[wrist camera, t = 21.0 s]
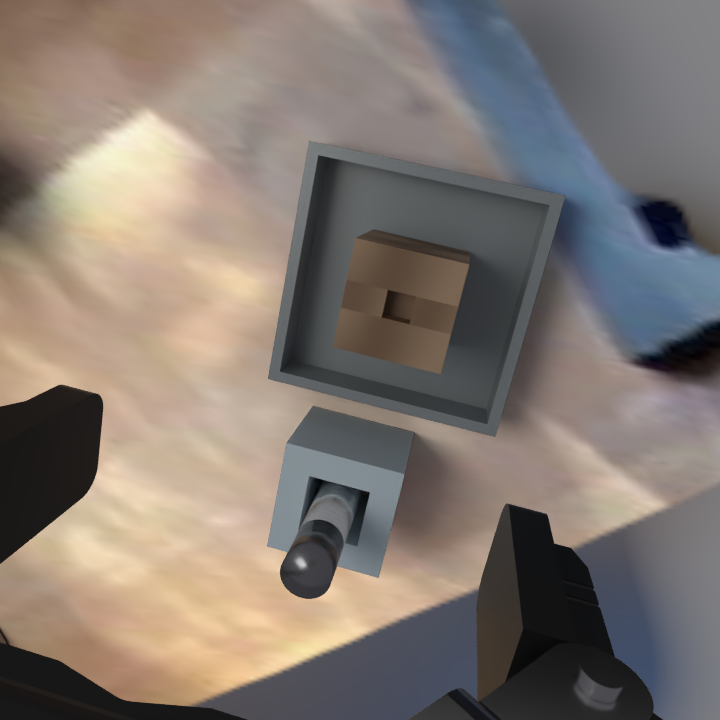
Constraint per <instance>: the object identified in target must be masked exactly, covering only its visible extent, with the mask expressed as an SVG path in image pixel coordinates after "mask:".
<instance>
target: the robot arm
mask: <svg viewBox="0 0 720 720" xmlns="http://www.w3.org/2000/svg"><path fill="white" fill-rule="evenodd" d="M102 415H103V401H102V398H101V396H100V395H98V394H96V393H92V392H88V391H84V390H81V389H77V388H73V387H69V386H66V385H58V386H56V387H54V388H52V389H50V390H48V391H46V392H44V393H41V394H39V395H37V396H35V397H33V398H31V399H29V400H27V401H24V402H20V403H15V404H10V405H6V406H1V407H0V564H1V563H2V562H3V561H4V560H6V559H7V558H8V557H9V556H11V555H12V554H13V553H14V552H16V551H17V550H18V549H19V548H21V547H22V546H23V545H24V544H26V543H27V542H28V541H29V540H30V539H32V538H33V537H34V536H35V535H37V534H38V533H39V532H40V531H42V530H43V529H44V528H45V527H47V526H48V525H49V524H50V523H52V522H53V521H54V520H55V519H57V518H58V517H59V516H60V515H62V514H63V513H64V512H65V511H66V510H68V509H69V508H70V507H71V506H73V505H74V504H75V503H76V502H78V501H79V500H80V499H81V498H83V497H84V496H85V494H86V493H87V492H88V490H89V489H90V487H91V485H92V483H93V481H94V479H95V476H96V472H97V467H98V458H99V447H100V437H101V426H102ZM593 588H594V587H593V583H592V580H591V577H590V573H589V570H588V568H587V566H586V565H585V564H584V563H583V562H582V560H581V559H580V558H579V557H578V556H577V555H576V553H575V552H574V551H573V550H572V549H571V548H569V547H565V546H561V545H557V544H554V541H553V537H552V532H551V528H550V524H549V519H548V516H547V514H545V513H541V512H537V511H533V510H530V509H526V508H522V507H518V506H515V505H511V504H506V505H505V506H504V508H503V511H502V513H501V516H500V519H499V523H498V526H497V529H496V532H495V536H494V539H493V542H492V546H491V549H490V552H489V555H488V559H487V562H486V565H485V568H484V572H483V575H482V579H481V583H480V587H479V593H478V600H477V685H478V686H477V693H478V701H477V700H476V699H474V698H473V697H472V696H471V695H470V694H469V693H468V692H466V691H465V690H464V689H462V688H458V689H454V690H452V691H450V692H448V693H447V694H445V695H444V696H442V697H441V698H439V699H438V700H436V701H435V702H434V703H432V704H430V705H429V706H427V707H426V708H424V709H423V710H422V711H420V712H419V713H418V714H416V715H414V716H413V717H411V718H410V719H408V720H662V719H661V718H660V717H658V716H657V715H655V714H654V713H653V710H654V704H653V699H652V696H651V694H650V692H649V690H648V688H647V686H646V685H645V683H644V682H643V681H642V679H640V677H639V676H638V675H637V674H636V673H635V672H634V671H633V670H632V669H631V668H629V667H628V666H627V665H626V664H625V663H623V662H622V661H621V660H619V659H617V658H616V657H615V656H614V653H613V649H612V646H611V642H610V639H609V636H608V633H607V629H606V626H605V623H604V619H603V616H602V613H601V610H600V608H599V607H598V604H599V603H598V600H597V597H596V593H595V591H593ZM0 720H246V719H243V718H240V717H237V716H233V715H230V714H227V713H224V712H221V711H218V710H214V709H212V708H201V707H189V706H177V705H165V704H153V703H141V702H131V701H125V700H122V699H120V698H118V697H116V696H114V695H113V694H111V693H110V692H108V691H106V690H105V689H103V688H102V687H100V686H98V685H97V684H95V683H94V682H92V681H90V680H89V679H87V678H86V677H84V676H83V675H81V674H79V673H78V672H76V671H75V670H73V669H71V668H70V667H68V666H67V665H65V664H64V663H62V662H60V661H58V660H55V659H52V658H49V657H45V656H42V655H39V654H36V653H33V652H29V651H26V650H23V649H20V648H17V647H13V646H10V645H7V644H6V642H5V640H4V638H3V637H2V635H1V633H0Z"/></svg>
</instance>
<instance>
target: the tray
mask: <svg viewBox="0 0 720 720" xmlns="http://www.w3.org/2000/svg"><path fill="white" fill-rule="evenodd" d="M564 199H565V195H560V194H556V193H551V192H546V191H542V190H537V189H532V188H528V187H523V186H518V185H514V184H509V183H504V182H500V181H495V180H490V179H486V178H481V177H476V176H472V175H467V174H462V173H458V172H453V171H448V170H444V169H439V168H434V167H430V166H425V165H420V164H416V163H411V162H406V161H402V160H397V159H392V158H388V157H383V156H378V155H374V154H369V153H364V152H360V151H355V150H350V149H346V148H341V147H336V146H332V145H327V144H322V143H318V142H313V141H309V145H308V150H307V156H306V162H305V168H304V174H303V179H302V185H301V191H300V197H299V202H298V208H297V214H296V220H295V226H294V231H293V237H292V243H291V249H290V255H289V260H288V266H287V272H286V278H285V284H284V289H283V295H282V301H281V307H280V312H279V318H278V324H277V330H276V336H275V341H274V347H273V353H272V359H271V365H270V370H269V376H268V379H270V380H274V381H278V382H282V383H286V384H290V385H294V386H298V387H302V388H306V389H310V390H314V391H317V392H321V393H325V394H329V395H333V396H337V397H341V398H345V399H349V400H353V401H357V402H361V403H365V404H368V405H372V406H376V407H380V408H384V409H388V410H392V411H396V412H400V413H404V414H408V415H412V416H415V417H419V418H423V419H427V420H431V421H435V422H439V423H443V424H447V425H451V426H455V427H459V428H463V429H466V430H470V431H474V432H478V433H482V434H486V435H490V436H494V437H495V436H496V433H497V429H498V426H499V422H500V419H501V415H502V412H503V409H504V405H505V402H506V398H507V395H508V391H509V388H510V385H511V381H512V378H513V374H514V371H515V367H516V364H517V361H518V357H519V354H520V350H521V347H522V343H523V340H524V337H525V333H526V330H527V326H528V323H529V319H530V316H531V313H532V309H533V306H534V302H535V299H536V295H537V292H538V289H539V285H540V282H541V278H542V275H543V271H544V268H545V265H546V261H547V258H548V254H549V251H550V247H551V244H552V241H553V237H554V234H555V230H556V227H557V223H558V220H559V216H560V213H561V210H562V206H563V203H564ZM373 229H374V230H378V231H383V232H387V233H391V234H396V235H400V236H404V237H409V238H413V239H417V240H422V241H426V242H430V243H435V244H439V245H443V246H447V247H452V248H456V249H460V250H465V251H469V252H470V259H469V268H468V272H467V275H466V279H465V283H464V287H463V291H462V294H461V298H460V302H459V306H458V310H457V314H456V317H455V321H454V325H453V329H452V333H451V336H450V340H449V344H448V348H447V352H446V356H445V359H444V363H443V367H442V371H441V374H438V373H434V372H430V371H426V370H422V369H418V368H414V367H410V366H406V365H402V364H398V363H394V362H390V361H386V360H382V359H378V358H374V357H370V356H366V355H362V354H358V353H354V352H350V351H347V350H343V349H339V348H335V347H333V343H334V339H335V334H336V329H337V324H338V319H339V314H340V310H341V305H342V300H343V295H344V290H345V285H346V281H347V276H348V271H349V266H350V261H351V256H352V252H353V247H354V242H355V238H356V237H358V236H360V235H363V234H365V233H367V232H369V231H371V230H373Z"/></svg>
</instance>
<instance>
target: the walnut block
mask: <svg viewBox="0 0 720 720" xmlns="http://www.w3.org/2000/svg"><path fill="white" fill-rule="evenodd" d="M469 259H470V252H469V251H465V250H460V249H456V248H452V247H447V246H443V245H439V244H435V243H430V242H426V241H422V240H417V239H413V238H409V237H404V236H400V235H396V234H391V233H387V232H383V231H378V230H374V229H373V230H371V231H369V232H367V233H365V234H363V235H360V236H358V237H356V238H355V242H354V247H353V252H352V256H351V261H350V266H349V271H348V276H347V281H346V285H345V290H344V295H343V300H342V305H341V310H340V314H339V319H338V324H337V329H336V334H335V339H334V343H333V347H335V348H339V349H343V350H347V351H350V352H354V353H358V354H362V355H366V356H370V357H374V358H378V359H382V360H386V361H390V362H394V363H398V364H402V365H406V366H410V367H414V368H418V369H422V370H426V371H430V372H434V373H438V374H441V371H442V367H443V363H444V359H445V356H446V352H447V348H448V344H449V340H450V336H451V333H452V329H453V325H454V321H455V317H456V314H457V310H458V306H459V302H460V298H461V294H462V291H463V287H464V283H465V279H466V275H467V272H468V268H469Z"/></svg>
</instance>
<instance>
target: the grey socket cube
mask: <svg viewBox="0 0 720 720" xmlns="http://www.w3.org/2000/svg"><path fill="white" fill-rule="evenodd" d="M413 436H414V432H411V431H407V430H404V429H400V428H396V427H392V426H388V425H384V424H380V423H376V422H373V421H369V420H365V419H361V418H357V417H353V416H349V415H345V414H341V413H338V412H334V411H330V410H326V409H322V408H318V407H314V406H313V407H312V408H311V409H310V411H309V412H308V414H307V415H306V416H305V418H304V419H303V421H302V422H301V423H300V425H299V426H298V428H297V429H296V430H295V432H294V433H293V435H292V436H291V437H290V439H289V440H288V442H287V443H286V448H285V454H284V459H283V464H282V470H281V475H280V480H279V486H278V491H277V496H276V502H275V507H274V512H273V518H272V523H271V528H270V534H269V539H268V544H267V546H268V547H271V548H275V549H278V550H282V551H285V552H288V551H289V549H290V547H291V545H292V543H293V541H294V539H295V537H296V535H297V533H298V531H299V529H300V527H301V525H302V523H303V521H304V519H305V517H306V515H307V513H308V511H309V509H310V507H311V505H312V503H313V501H314V499H315V497H316V495H317V493H318V491H319V489H320V487H321V485H322V480H326V481H330V482H333V483H337V484H341V485H345V486H348V487H352V488H356V489H359V490H363V491H367V492H370V495H367V494H362V497H361V500H360V502H359V505H358V508H357V511H356V514H355V517H354V519H353V522H352V525H351V528H350V531H349V533H348V536H347V539H346V542H345V545H344V548H343V550H342V553H341V556H340V559H339V562H338V564H337V566H338V567H342V568H345V569H349V570H352V571H356V572H360V573H363V574H367V575H370V576H374V577H377V578H379V575H380V571H381V567H382V563H383V559H384V555H385V551H386V547H387V543H388V539H389V535H390V531H391V527H392V523H393V519H394V515H395V511H396V507H397V503H398V499H399V495H400V491H401V487H402V483H403V479H404V475H405V471H406V466H407V462H408V458H409V453H410V449H411V445H412V440H413Z"/></svg>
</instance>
